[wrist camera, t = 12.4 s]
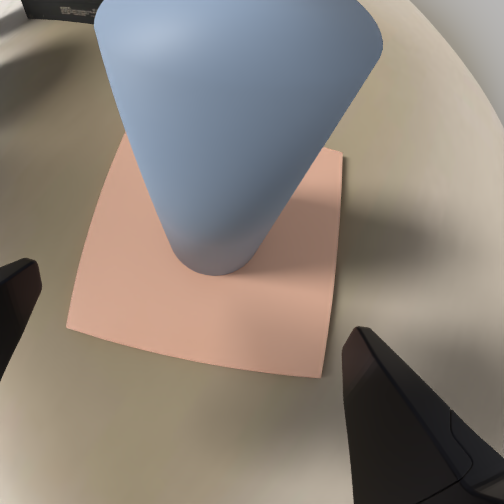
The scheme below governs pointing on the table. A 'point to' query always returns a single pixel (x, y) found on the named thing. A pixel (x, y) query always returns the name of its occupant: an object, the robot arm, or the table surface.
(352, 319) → the table surface
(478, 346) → the table surface
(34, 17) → the portable cd player
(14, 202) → the table surface
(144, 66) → the slate pillar
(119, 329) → the terracotta tile
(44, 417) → the table surface
